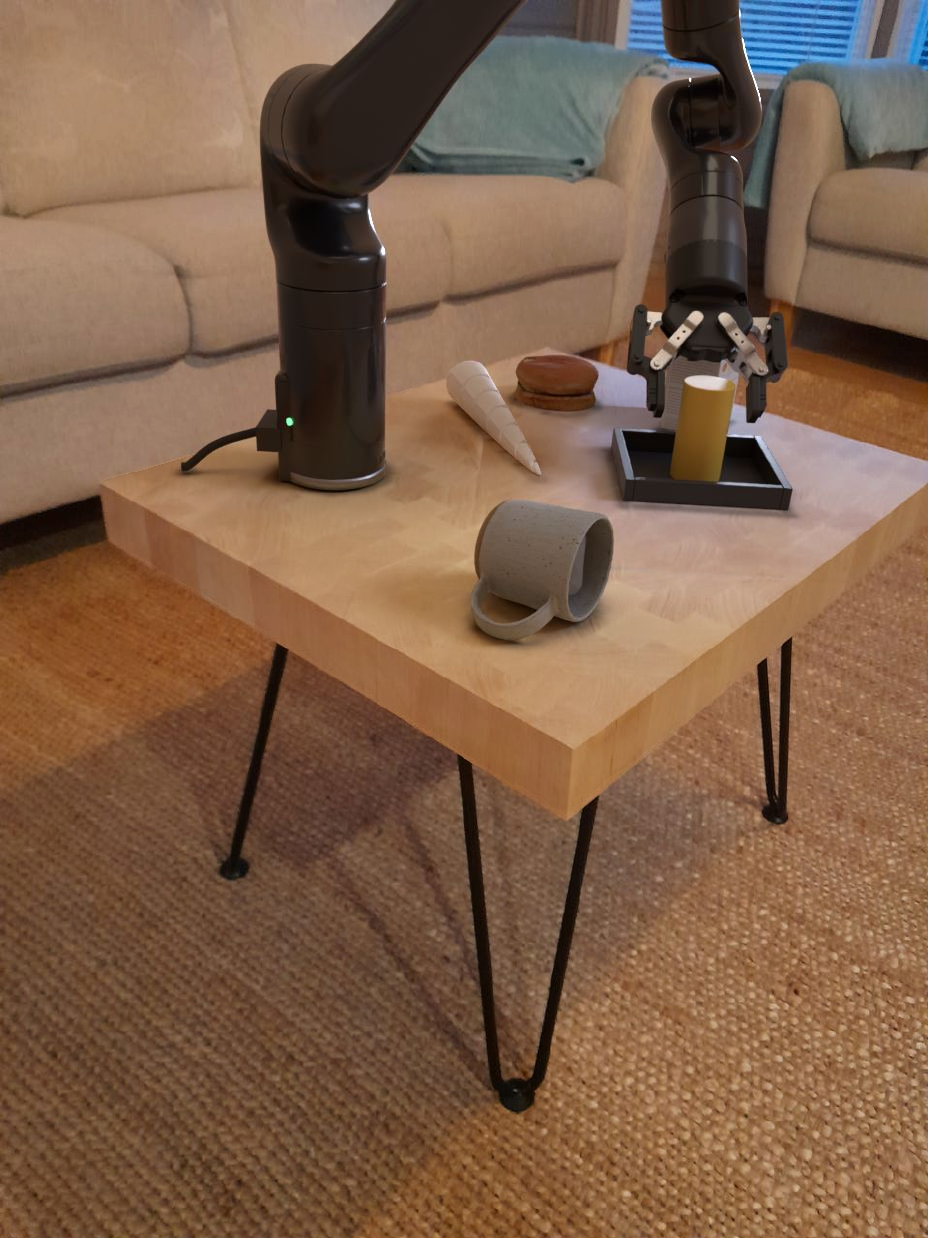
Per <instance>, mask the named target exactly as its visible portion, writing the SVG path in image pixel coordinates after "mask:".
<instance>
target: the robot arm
mask: <svg viewBox="0 0 928 1238" xmlns="http://www.w3.org/2000/svg"><path fill="white" fill-rule="evenodd" d="M527 2H528V0H394V2H393V3H392V4H391V6H390V7H389V8H388V9H387V11H386V12H385V13H384V14H383V16H381V18H380V19H379V20H378V21H377V22H376V23H375V24H374V25H373V26H372V27H371V28H370V29H369V30H368V31H367V32H366V34H365V35H364V36H362V38H361V39H360V40H359V41H357V43H356V44H355V45H354V46H353V47H352V48H350V50H349V51H348V52H346V54H344V55H343V56H342V57H341V58H340V59H339V60H338V61H336V62H335V63H334V64H332V65H331V64H325V63H303V64H299V65H296V66H293V67H291V68H289V69H286V70H285V71H284V72H283V73H281V74H280V75H279V76H278V77H277V78H276V79H275V80H274V81H273V83H272V84H271V85H270V87H269V88H268V91H267V92H266V95H265V97H264V100H263V103H262V106H261V110H260V111H261V112H260V117H259V119H260V120H259V156H260V170H261V171H260V172H261V185H262V196H263V208H264V221H265V229H266V235H267V239H268V242H269V246H270V250H271V252H272V255H273V260H274V268H275V271H274V272H275V281H276V282H275V283H276V302H277V303H276V305H277V322H278V323H277V326H278V327H277V328H278V329H277V330H278V331H277V332H278V351H279V352H278V353H279V354H278V355H279V356H278V357H279V370H278V371H277V373H276V374H275V376H274V396H275V409H271V408H269V409H266V411H265V412H264V413H263V415H262V417H261V418H260V420H259V421H258V423H257V424H256V426H255V427H252V428H248V429H243V430H240V431H237V432H233V433H229V434H227V435H224V436H222V437H219V438H216V439H214V440H212V441H210V442H209V443H207V444H206V445H204V446H203V447H202V448H201V449H200V450H198V451H197V452H195V454H194V455H192V457H190V458H189V459H187V460H186V461H181V462H180V470H181V472H188V471H190V470H192V469H194V468H195V467H196V466H197V465H198V464H199V463H200V462H202V461H203V460H204V459H205V458H206V457H207V456H209V455H210V454H212V453H213V452H215V451H216V450H219V449H220V448H223V447H226V446H227V445H230V444H234V443H237V442H242V441H244V440H248V439H252V438H255V441H256V451H257V452H264V453H265V452H267V453H277V461H278V463H277V464H278V480H279V481H280V482H281V481H282V482H290V483H294V484H296V485H298V486H301V487H305V488H309V489H316V490H323V491H324V490H325V491H346V490H354V489H360V488H364V487H365V488H366V487H368V486H371V485H374V484H376V483H378V482H379V481H381V480H382V479H384V477H385V475H386V473H387V459H386V455H387V454H386V451H387V450H386V393H387V391H386V388H387V387H386V386H387V385H386V382H387V379H386V378H387V371H386V370H387V253H386V249H385V247H384V245H383V243H382V241H381V240H380V237H379V236H378V233H377V232H376V228H375V227H374V224H373V219H372V216H371V215H372V214H371V211H370V210H371V209H370V195H369V194H370V193H372V192H374V191H375V190H377V189H378V188H379V187H381V185H383V184H384V183H385V182H386V181H387V180H388V179H389V178H390V177H391V175H392V174H393V173H394V171H395V170H396V169H397V168H398V167H399V165H400V164H401V162H402V161H403V159H404V158H405V157H406V155H407V154H408V152H409V151H410V150H411V148H412V146H413V145H414V144H415V142H416V140H417V139H418V138H419V136H420V134H421V133H422V132H423V130H424V129H425V127H426V126H427V124H428V123H429V121H430V120H431V118H432V117H433V116H434V114H435V113H436V111H438V108H439V107H440V105H441V104H442V102H443V101H444V100H445V98H446V97H447V95H448V94H449V92H450V91H451V90H452V88H453V87H454V86H455V84H456V83H457V82H458V81H459V79H460V78H461V77H462V76H463V74H464V73H465V72H466V71H467V69H469V68H470V66H471V65H472V64H473V63H474V62H475V61H476V60H477V59H478V57H479V56H480V55H481V54H482V53H483V52H484V51H485V50H486V49H487V48H488V46H490V44H491V43H492V42H493V41H494V40H495V38H497V36H498V35H499V34H500V33H501V31H502V30H503V29H504V28H505V27H506V25H508V23H509V22H510V21H511V20H512V19H513V17H515V15H516V13H517V12H518V11H519V10H520V9H521V8H522V7H523V6H524V5H525V4H526V3H527ZM659 2H660V15H661V25H662V26H661V27H662V39H663V44H664V45H663V46H664V48H665V51H666V53H667V55H669V57H671V58H673V59H675V60H677V61H681V62H688V63H696V64H704V65H708V66H711V67H713V68H715V70H716V71H717V72H718V73H716V74H710V75H703V76H697V77H696V76H695V77H691V78H683V79H678V80H673V81H671V82H668V83H666V84H664V86H662V87H661V88H660V90H659V91H658V92H657V94H656V95H655V98H654V100H653V102H652V105H651V109H650V110H651V111H650V122H651V129H652V131H653V132H652V133H653V137H654V140H655V143H656V146H657V148H658V152H659V154H660V156H661V160H662V162H663V166H664V168H665V172H666V177H667V186H668V187H667V188H668V222H667V223H668V225H667V227H668V228H667V230H666V231H667V232H666V239H665V252H664V257H663V258H664V263H665V265H664V266H665V269H664V270H665V282H664V283H665V284H664V285H665V286H664V287H665V290H664V294H665V295H664V309H663V311H662V312H660V311H652V310H651V311H650V310H648V306H646V305H645V304H643V303H640V304H637V305H636V306H635V307H634V309H633V313H632V316H631V320H630V326H629V336H628V337H629V338H628V349H627V359H626V373H628V374H629V375H631V376H636V375H639V376H641V377H643V378H644V379H645V381H646V382H645V383H646V391H645V393H646V395H645V396H646V399H645V400H646V401H645V406H646V409H647V410H648V412H652V418H653V419H654V418H655V419H661V417H662V415H663V412H664V409H665V383H666V372H667V369H668V368H670V367H671V366H672V365H673V364H674V363H675V362H676V361H677V359H678V358H679V357H680V356H683V357H684V358H687V361H700V360H706V361H709V362H715V363H721V361H722V360H725V361H726V362H727V363H728V364H729V366H730V367H731V368H732V369H733V370H734V371H735V372H739V376H741V377H742V379H744V381H745V382H746V384H747V385H746V387H745V420H746V421H745V422H746V424H756V423H757V420H758V419H759V418H761V417H762V415H764V412H765V411H766V408H767V406H768V401H767V399H768V396H767V395H768V394H767V384H768V383H772V384H776V383H778V382H779V381H780V380H781V379H782V376H783V374H784V372H785V371H786V370H787V369H788V366H789V363H788V362H789V360H788V352H787V351H788V349H787V340H786V328H785V318H784V315H783V313H782V312H780V311H774V312H772V313H771V314H770V315H769V317H767V316H765V317H763V316H762V317H760V316H758V317H757V316H755V317H753V315H752V314H751V312H750V311H749V306H748V301H749V300H748V293H749V292H748V242H747V241H748V238H747V227H746V224H745V217H744V216H745V215H744V212H745V211H744V209H745V208H744V207H745V205H744V175H743V170H742V166H741V164H740V162H739V161H738V160H737V159H736V158H735V157H734V156H732V155H731V154H729V153H726V152H733V151H738V150H742V149H744V148H746V147H748V146H749V145H750V144H752V142H753V141H754V139H755V138H756V137H757V135H758V133H759V130H760V128H761V124H762V119H763V106H762V101H761V97H760V93H759V90H758V85H757V83H756V79H755V78H754V75H753V72H752V69H751V66H750V63H749V60H748V56H747V53H746V48H745V43H744V39H743V33H742V24H741V9H740V0H659ZM657 327H659V329H660V331H661V332H662V334H663V335H664V336H665V337H666V339H667V340H666V342H665V343H664V344H663V346H662V348H661V349H659V351H658V352H657V353H656V354H655V355H654V357H652V358H651V357H650V356H648V355H647V356H646V355H645V349H646V348H645V346H646V338H647V337H649V336H651V335H652V334H653V332H654V329H655V328H657ZM750 332H753V333H755V335H756V336H757V339H758V340H759V343H762V344H764V346H763V347H764V356H765V362H764V360H762V359H761V357H760V356H759V354H757V352H756V347H755V345H754V344H753V343H752V342H751V340H750V339H749V338H748V335H749V334H750ZM736 349H737V351H738V352H737V351H736Z"/></svg>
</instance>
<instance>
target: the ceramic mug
mask: <svg viewBox="0 0 928 1238" xmlns="http://www.w3.org/2000/svg"><path fill="white" fill-rule="evenodd" d="M614 546H615V538H614V528H613V525H612V522H611V521H610V519H609V518H608V516H606V515H605V514H603V513H600V512H595V511H588V510H582V509H577V508H570V507H566V506H559V505H554V504H548V503H544V502H539V501H534V500H528V499H527V500H526V499H509V500H503V501H502V502H500V503H498V504H497V505H495V506H494V507H493V508H492V509H491V510H490V511H489V513H488V514H487V515H486V517H485V518H484V521H482V524H481V526H480V528H479V531H478V533H477V537H476V541H475V545H474V555H473V565H474V571H475V574H476V576H477V579H478V581H477V582H476V583H475V585H474V587H473V589H472V591H471V595H470V609H471V613H472V616H473V619H474V621H475V623H476V625H477V626H478V627H479V628H480V630H481V631H482V632H484V633H485V634H487V635H489V636H491V637H493V638H496V639H499V640H505V641H506V640H507V641H513V640H520V639H523V638H528V637H530V636H532V635H535V634H536V633H537V632H539V631H540V630H542V629H543V628H544V627H545V626H546V625H547V624H548V623H549V622H550V621H551V620H553V618H554V617H556V618H560V619H562V620H565V621H569V622H572V623H578V622H582V621H584V620H585V619H587V618H588V617H589V616H590V615H591V614H592V613H593V612H594V610H595V609H596V607H597V605H598V604H599V602H600V600H601V598H602V597H603V594H604V593H605V590H606V587H607V584H608V582H609V578H610V573H611V571H612V563H613V558H614V557H613V556H614V548H615V547H614ZM488 593H491V594H493V595H495V596H497V597H498V598H501V599H504V600H506V601H507V600H508V601H510V602H514V603H517V604H520V605H523V606H526V607H529V608H531V609H533V610H536V611H535V612H533V613H532V614H530V615H529V616H527V617H525V618H523V619H520V620H516V621H513V622H507V623H499V622H495V621H492V620H491V618H490V617H489V616H487V615H486V614H484V613H483V611H482V609H481V606H482V602H483V601H484V598H485V597H486V595H487V594H488Z"/></svg>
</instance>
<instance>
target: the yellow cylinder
mask: <svg viewBox="0 0 928 1238" xmlns="http://www.w3.org/2000/svg"><path fill="white" fill-rule="evenodd" d="M735 388H736V385H735V384H734V383H733V382H732V381H729V380H727V379H724V378H720V377H715V376H704V375H699V376H690V377H687V378H685V380H684V383H683V390H682V396H681V403H680V409H679V416H678V423H677V429H676V436H675V442H674V449H673V456H672V462H671V469H670V475H671V477H672V478H674V479H680V480H698V481H715V482H718V481H719V478H720V473H721V467H722V461H723V456H724V450H725V444H726V439H727V434H729V428H730V427H729V426H730V421H731V418H730V416H731V417H732V415H731V410H732V411H733V409H732V405H733V406H734V404H733V399H734V394H735V395H736V393H735ZM736 389H737V388H736ZM734 400H735V399H734Z"/></svg>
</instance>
